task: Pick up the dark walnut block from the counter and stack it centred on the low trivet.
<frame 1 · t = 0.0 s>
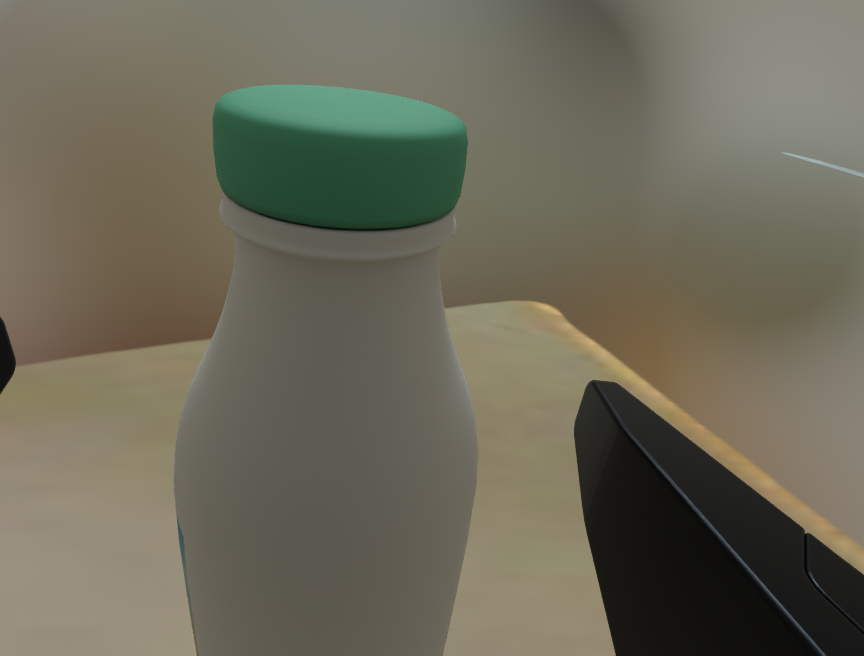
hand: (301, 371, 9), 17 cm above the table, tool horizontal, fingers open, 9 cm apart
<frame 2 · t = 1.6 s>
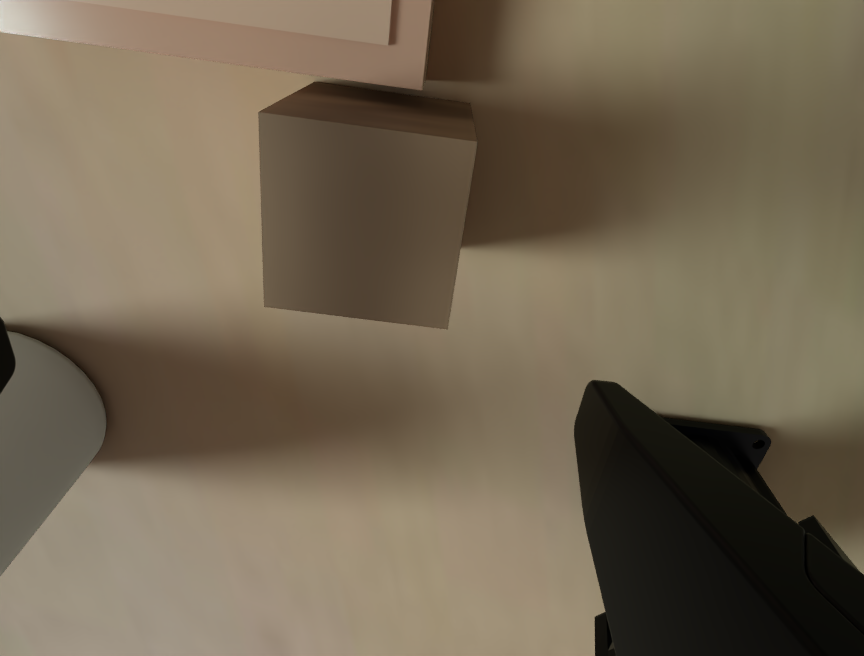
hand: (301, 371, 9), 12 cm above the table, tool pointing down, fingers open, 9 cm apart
milk bottle: (26, 395, 25), on the table
walnut block: (386, 170, 19), on the table
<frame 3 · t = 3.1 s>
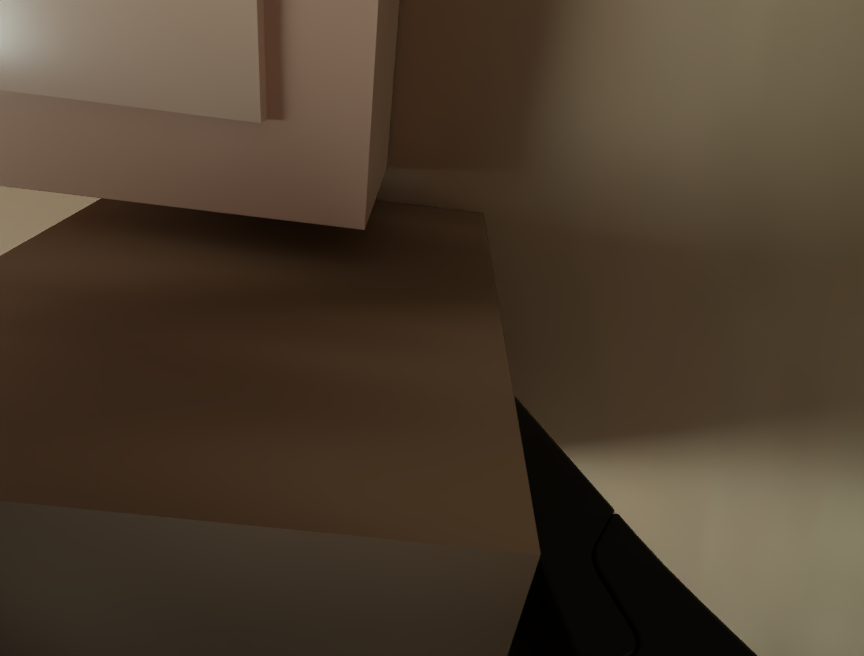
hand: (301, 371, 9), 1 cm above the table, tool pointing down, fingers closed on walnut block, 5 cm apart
walnut block: (315, 335, 10), on the table, touching gripper
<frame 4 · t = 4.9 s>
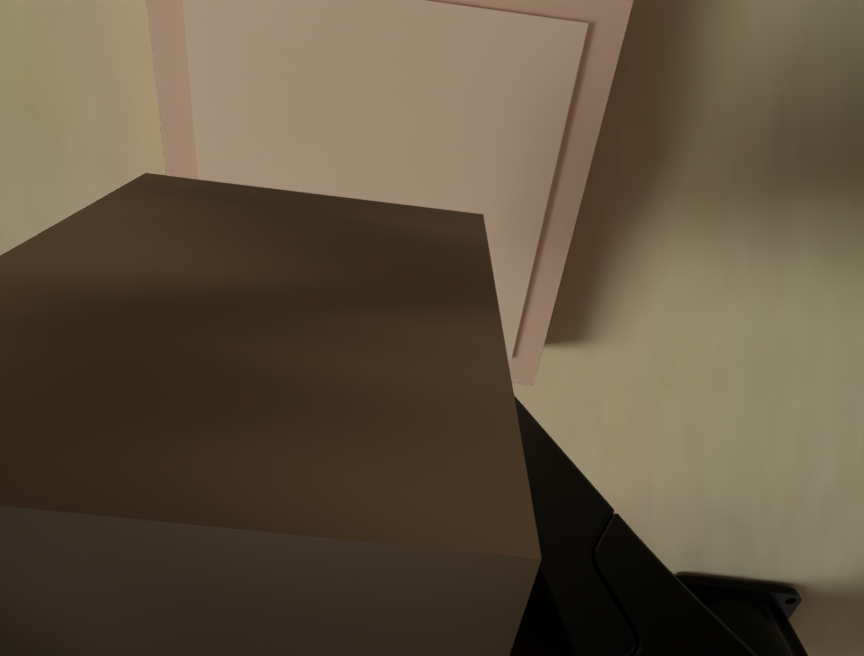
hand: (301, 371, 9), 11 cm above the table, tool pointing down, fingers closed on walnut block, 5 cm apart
walnut block: (314, 336, 10), point 10 cm above the table, touching gripper
trivet: (382, 172, 18), on the table
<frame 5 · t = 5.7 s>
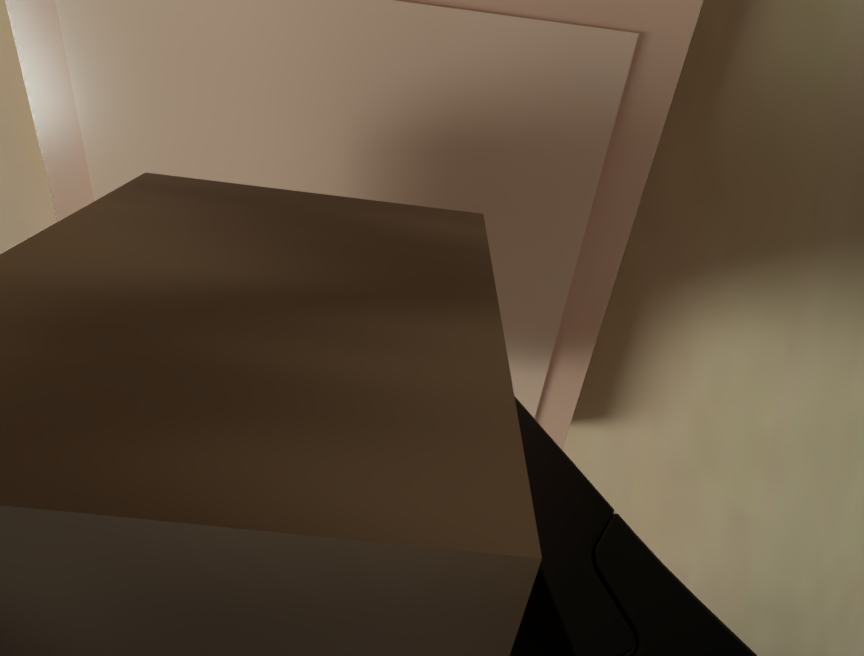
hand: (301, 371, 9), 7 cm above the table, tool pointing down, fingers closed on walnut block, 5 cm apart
walnut block: (314, 336, 10), point 6 cm above the table, touching gripper
trivet: (356, 221, 14), on the table
when the fingers open (5 cm above the table, at t = 6.4 s): walnut block drops 1 cm, resting on trivet.
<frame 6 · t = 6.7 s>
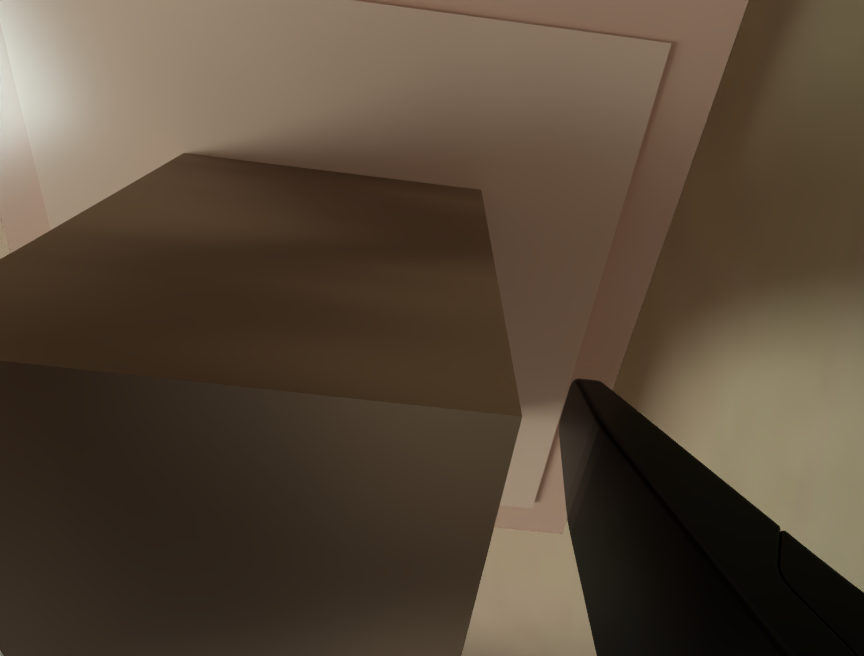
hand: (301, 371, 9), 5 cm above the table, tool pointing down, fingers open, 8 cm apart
walnut block: (330, 302, 11), point 3 cm above the table, touching trivet
trivet: (349, 246, 13), on the table
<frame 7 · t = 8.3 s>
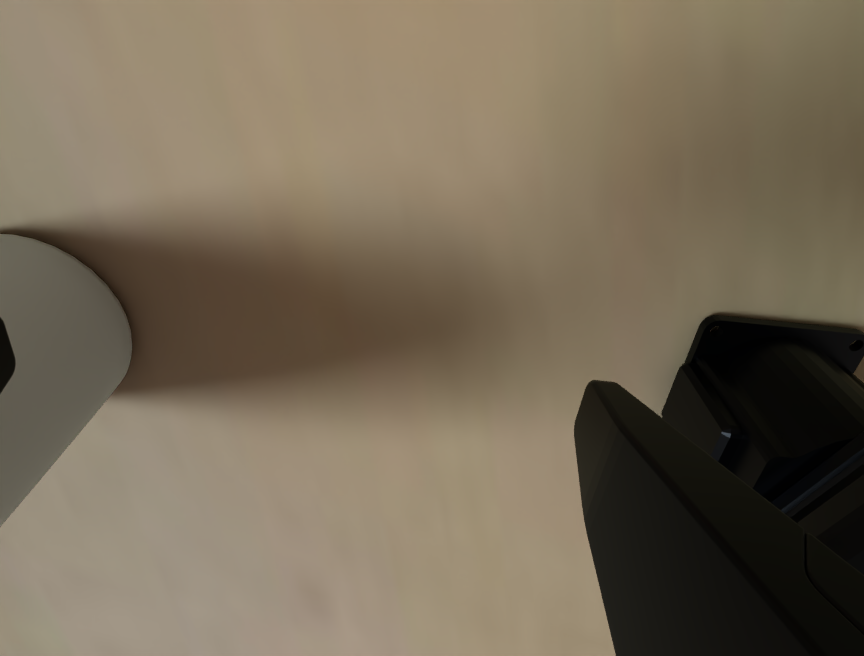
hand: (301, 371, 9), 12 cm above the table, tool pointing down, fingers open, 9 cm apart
milk bottle: (42, 316, 22), on the table
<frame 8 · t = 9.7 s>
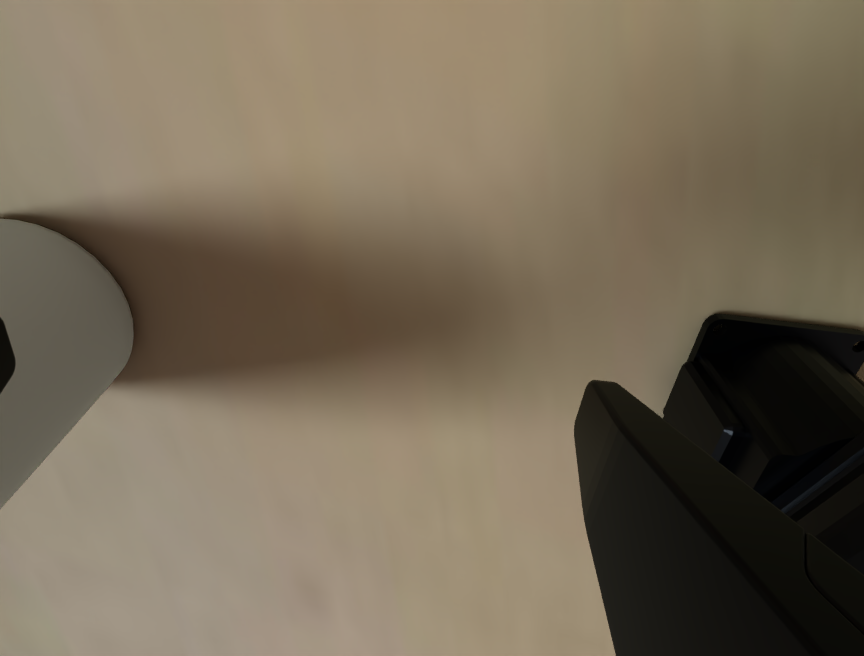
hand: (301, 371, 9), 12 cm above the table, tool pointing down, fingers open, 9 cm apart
milk bottle: (44, 303, 22), on the table
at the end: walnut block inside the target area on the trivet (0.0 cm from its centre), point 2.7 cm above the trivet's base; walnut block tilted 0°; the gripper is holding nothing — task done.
